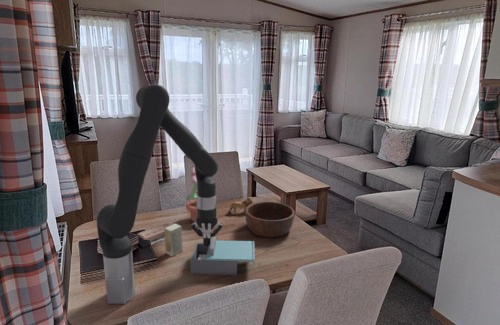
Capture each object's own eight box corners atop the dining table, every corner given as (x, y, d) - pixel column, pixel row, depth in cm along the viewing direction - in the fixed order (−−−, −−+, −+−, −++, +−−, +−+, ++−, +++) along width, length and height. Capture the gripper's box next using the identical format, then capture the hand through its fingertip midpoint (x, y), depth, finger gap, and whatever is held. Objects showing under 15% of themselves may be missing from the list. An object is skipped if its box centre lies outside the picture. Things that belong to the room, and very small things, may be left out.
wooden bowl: (296, 222, 181) (298, 204, 178) (289, 244, 158) (290, 224, 155) (251, 216, 187) (252, 198, 185) (238, 236, 164) (238, 216, 161)
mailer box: (236, 274, 133) (236, 261, 131) (190, 273, 133) (190, 260, 131) (237, 256, 146) (238, 243, 145) (196, 255, 146) (196, 242, 144)
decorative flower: (199, 229, 170) (198, 172, 162) (179, 222, 177) (177, 167, 169) (217, 218, 183) (217, 165, 175) (197, 212, 189) (196, 161, 182)
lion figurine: (251, 209, 195) (251, 195, 193) (254, 213, 191) (254, 198, 188) (226, 212, 192) (226, 197, 189) (228, 215, 187) (228, 200, 184)
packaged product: (165, 220, 168) (176, 227, 162) (165, 229, 170) (177, 236, 163) (131, 232, 156) (142, 239, 149) (131, 241, 157) (143, 249, 150)
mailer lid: (254, 265, 131) (254, 252, 130) (205, 264, 131) (205, 251, 130) (254, 246, 145) (254, 234, 144) (210, 245, 145) (210, 233, 144)
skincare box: (176, 247, 152) (175, 222, 148) (183, 251, 149) (182, 225, 146) (164, 253, 147) (163, 227, 144) (171, 257, 144) (170, 230, 141)
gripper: (188, 209, 129) (189, 249, 134) (222, 209, 129) (222, 250, 134) (191, 201, 136) (192, 240, 141) (224, 202, 136) (224, 241, 141)
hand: (207, 245), depth 137 cm, fingers closed
